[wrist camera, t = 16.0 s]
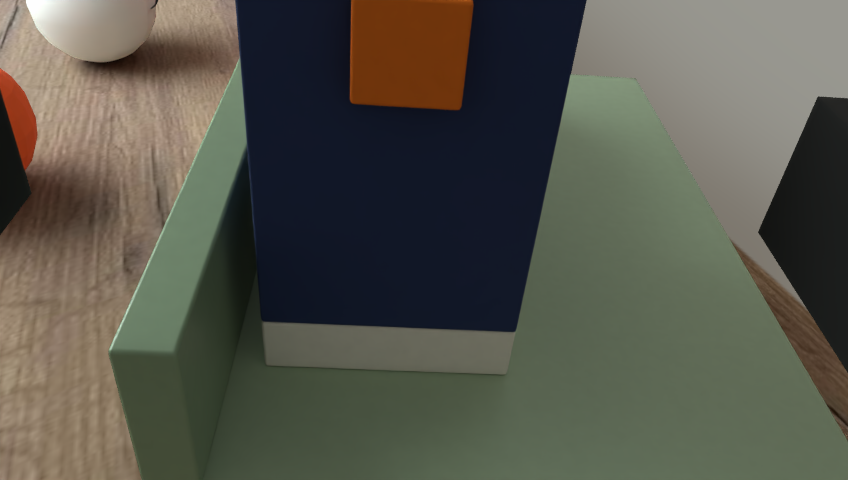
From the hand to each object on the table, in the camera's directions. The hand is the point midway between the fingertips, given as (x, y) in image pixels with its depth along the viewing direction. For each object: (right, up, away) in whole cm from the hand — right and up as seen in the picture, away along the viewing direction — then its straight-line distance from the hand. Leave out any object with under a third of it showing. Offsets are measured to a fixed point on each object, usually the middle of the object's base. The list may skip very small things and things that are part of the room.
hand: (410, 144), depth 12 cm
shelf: (+2, -6, +16) cm, 17 cm away
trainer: (-1, 0, +12) cm, 12 cm away
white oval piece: (-21, +11, +36) cm, 43 cm away
